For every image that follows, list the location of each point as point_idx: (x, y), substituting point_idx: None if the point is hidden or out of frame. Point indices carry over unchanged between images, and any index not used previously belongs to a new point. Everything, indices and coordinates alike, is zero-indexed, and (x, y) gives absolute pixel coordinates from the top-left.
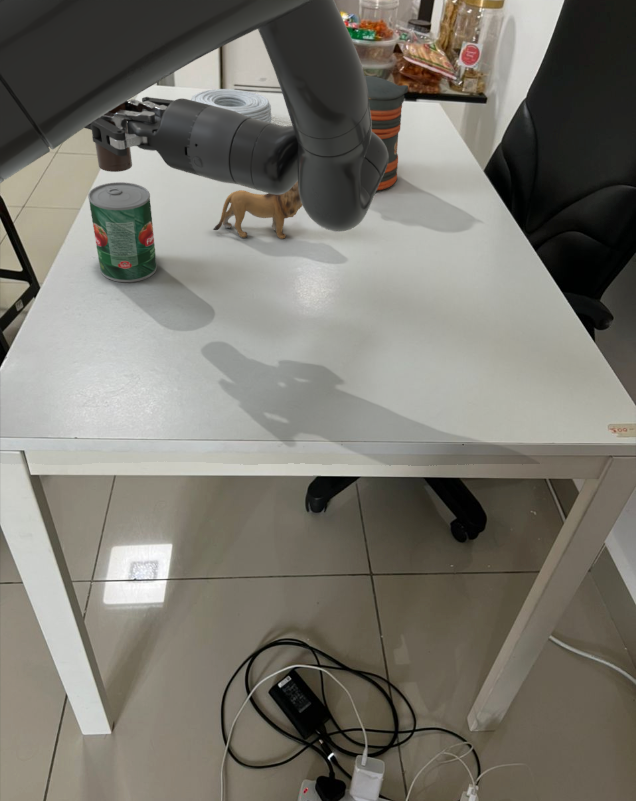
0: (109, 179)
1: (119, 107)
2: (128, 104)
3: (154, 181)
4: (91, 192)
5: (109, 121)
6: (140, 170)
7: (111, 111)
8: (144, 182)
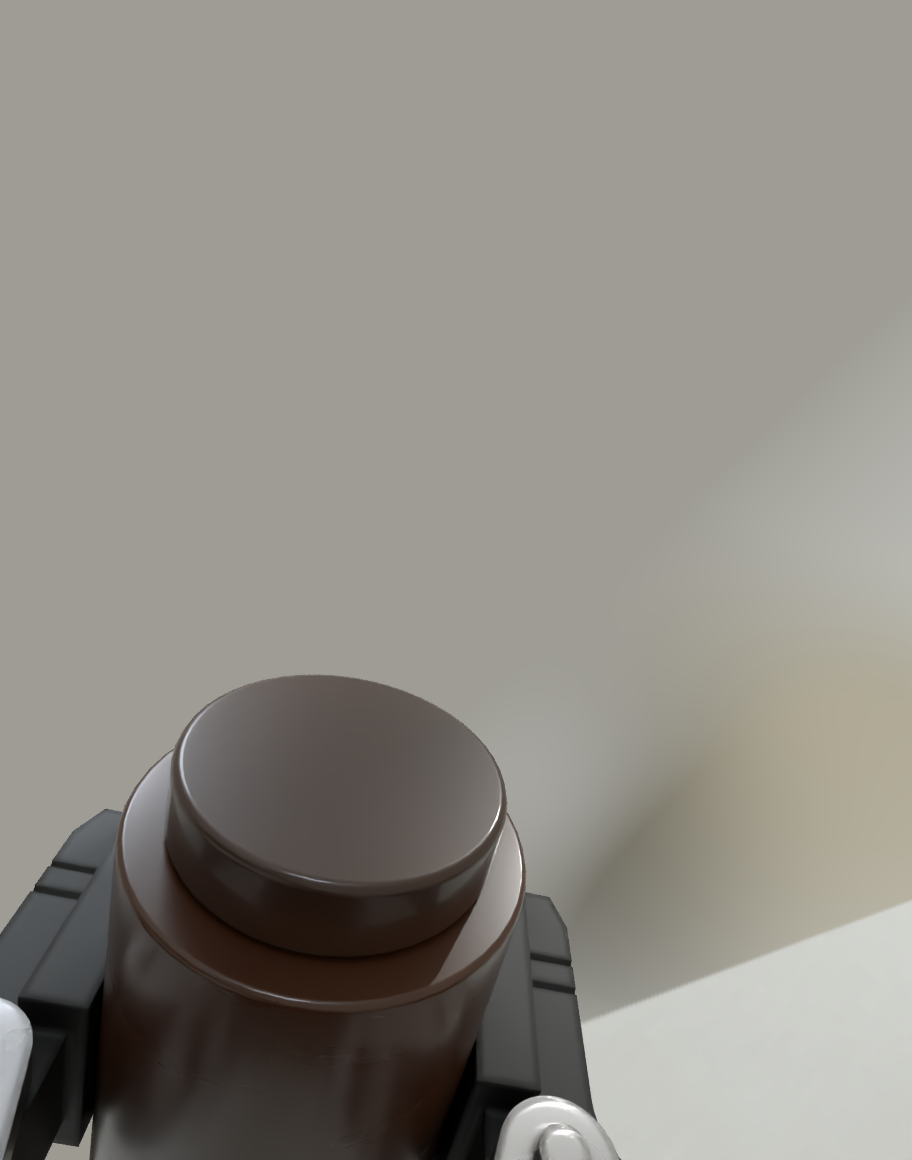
0: (772, 975)
1: (230, 1150)
2: (498, 1135)
3: (907, 1117)
4: None
5: (104, 1146)
6: (900, 1027)
7: (129, 1106)
8: (867, 1087)
